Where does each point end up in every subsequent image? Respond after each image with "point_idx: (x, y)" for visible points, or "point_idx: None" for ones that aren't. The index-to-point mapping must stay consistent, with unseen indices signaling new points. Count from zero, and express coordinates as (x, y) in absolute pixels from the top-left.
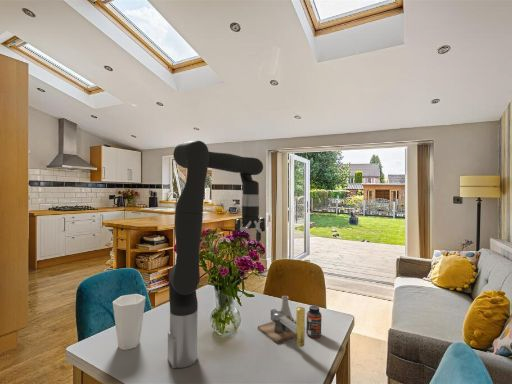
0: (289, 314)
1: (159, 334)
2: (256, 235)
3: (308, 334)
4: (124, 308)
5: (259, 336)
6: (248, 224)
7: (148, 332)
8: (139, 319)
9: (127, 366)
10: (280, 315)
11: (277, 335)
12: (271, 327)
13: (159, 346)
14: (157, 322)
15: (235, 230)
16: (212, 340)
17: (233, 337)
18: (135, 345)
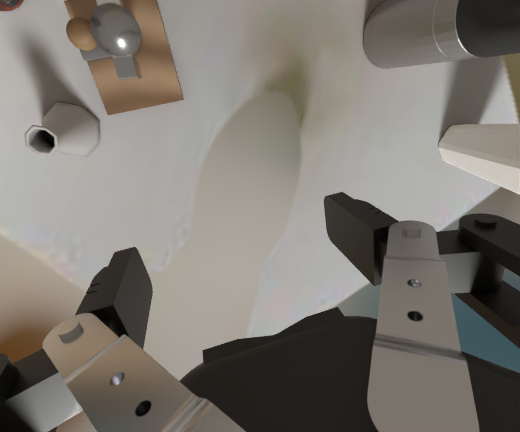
0: (52, 110)
1: (400, 162)
2: (142, 324)
3: None
4: None
5: (191, 57)
6: (420, 344)
7: (415, 178)
8: (494, 136)
9: (475, 62)
10: (113, 11)
11: (139, 18)
12: (142, 75)
13: (413, 112)
14: (391, 215)
15: (500, 285)
16: (311, 91)
17: (260, 83)
18: (452, 127)
